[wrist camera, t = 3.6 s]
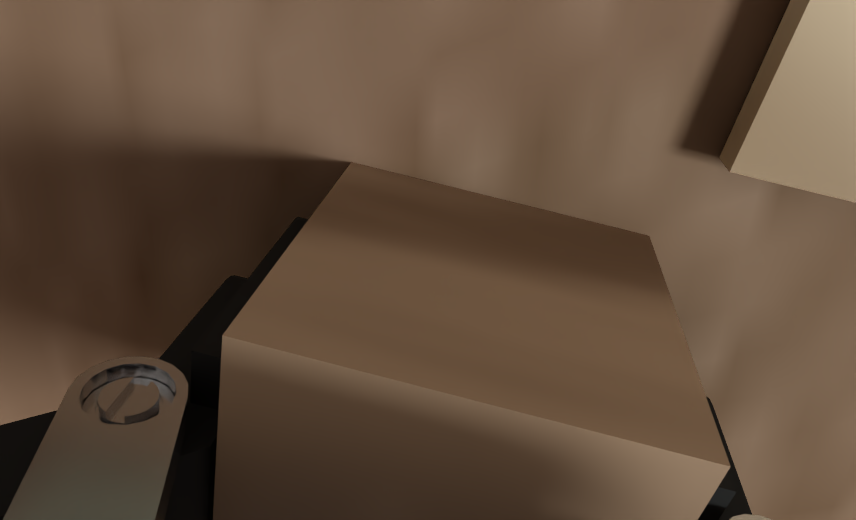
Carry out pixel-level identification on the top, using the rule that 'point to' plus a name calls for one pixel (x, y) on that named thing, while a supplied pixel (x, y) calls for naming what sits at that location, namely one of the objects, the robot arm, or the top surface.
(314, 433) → the walnut block
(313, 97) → the top surface
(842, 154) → the plate
